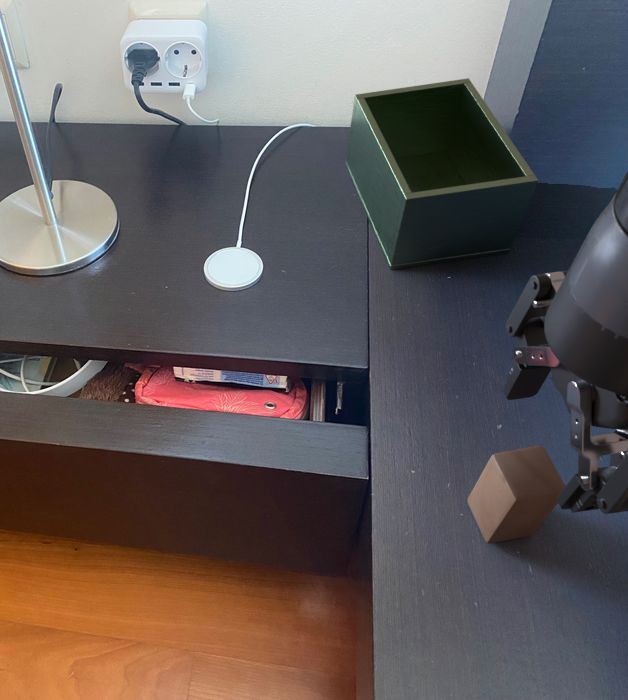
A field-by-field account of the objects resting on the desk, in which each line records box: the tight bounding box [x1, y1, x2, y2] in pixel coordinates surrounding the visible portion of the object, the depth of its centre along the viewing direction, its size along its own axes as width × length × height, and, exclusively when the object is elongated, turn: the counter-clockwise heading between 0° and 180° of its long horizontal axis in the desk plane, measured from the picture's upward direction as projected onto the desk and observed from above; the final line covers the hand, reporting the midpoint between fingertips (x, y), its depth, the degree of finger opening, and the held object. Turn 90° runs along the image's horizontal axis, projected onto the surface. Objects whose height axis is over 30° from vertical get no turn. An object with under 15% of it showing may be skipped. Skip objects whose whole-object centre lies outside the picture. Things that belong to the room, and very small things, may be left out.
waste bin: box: [344, 78, 539, 271], centre depth 77 cm, size 18×13×10 cm
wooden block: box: [467, 445, 566, 544], centre depth 55 cm, size 4×4×8 cm
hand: (544, 445), depth 49 cm, fingers open, 8 cm apart
